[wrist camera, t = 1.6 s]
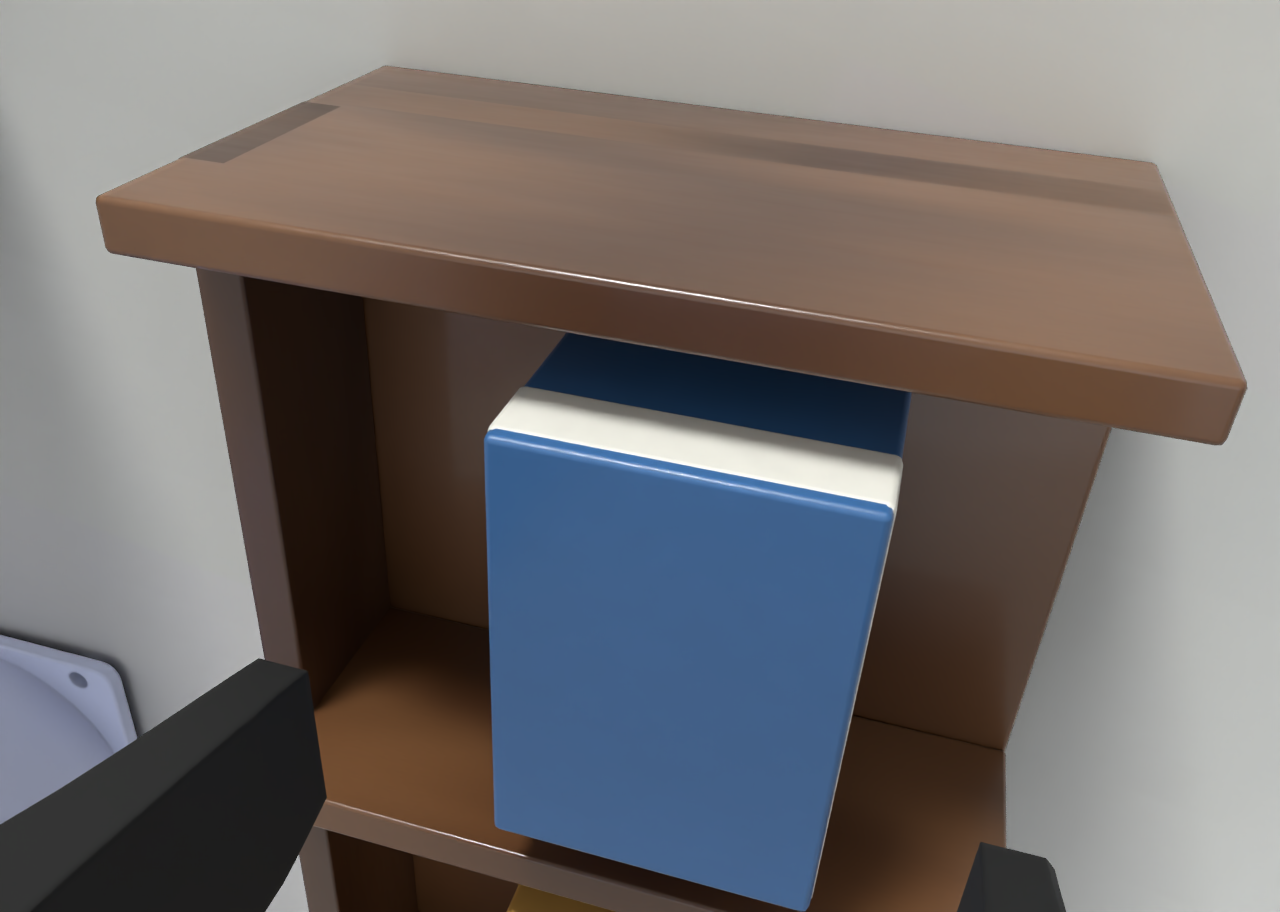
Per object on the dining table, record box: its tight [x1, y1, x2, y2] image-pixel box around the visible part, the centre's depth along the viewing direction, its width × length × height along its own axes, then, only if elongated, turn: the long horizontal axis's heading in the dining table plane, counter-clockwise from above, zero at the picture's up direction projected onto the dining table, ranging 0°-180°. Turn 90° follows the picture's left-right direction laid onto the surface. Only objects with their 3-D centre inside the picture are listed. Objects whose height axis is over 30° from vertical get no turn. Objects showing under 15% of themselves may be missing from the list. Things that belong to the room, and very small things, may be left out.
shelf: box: [96, 66, 1247, 912], centre depth 19 cm, size 12×19×7 cm, turn 177°
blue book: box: [484, 333, 912, 912], centre depth 15 cm, size 4×6×5 cm
